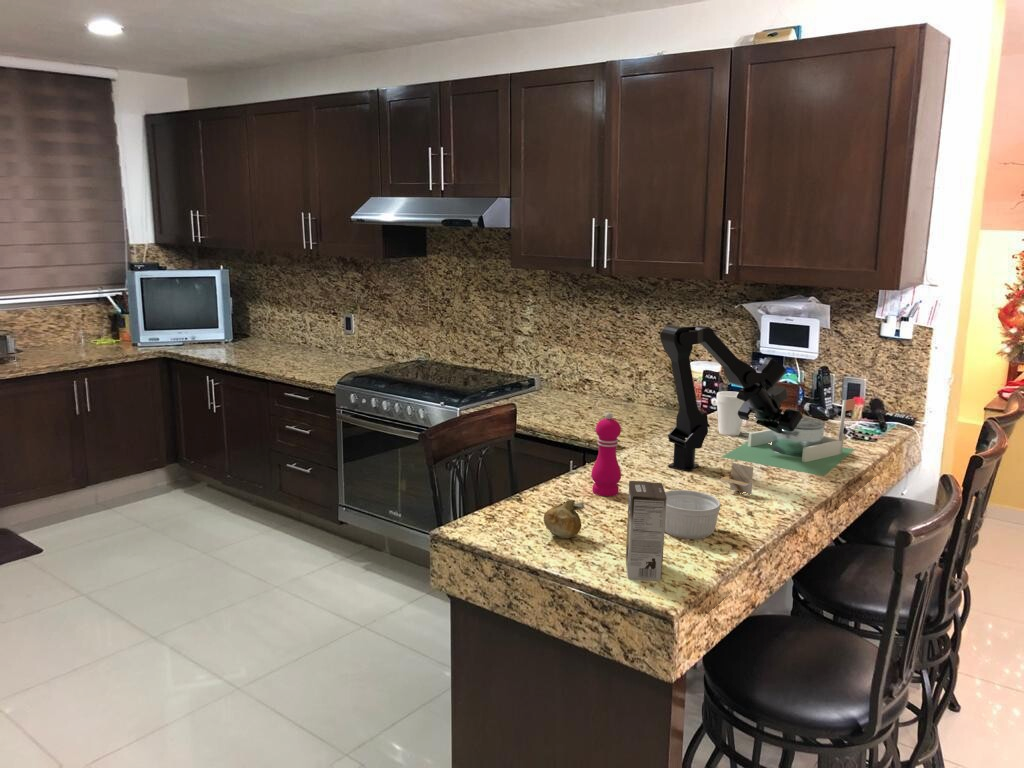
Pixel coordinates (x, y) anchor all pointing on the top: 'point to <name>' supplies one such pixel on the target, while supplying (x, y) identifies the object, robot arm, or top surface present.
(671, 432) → the robot arm
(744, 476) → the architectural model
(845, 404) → the beige thin-walled piece
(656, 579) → the coffee box
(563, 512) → the onion
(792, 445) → the chrome metal canister
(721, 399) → the foam cup
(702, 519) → the ramekin
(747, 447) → the green mat
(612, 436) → the pepper mill
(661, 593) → the top surface
